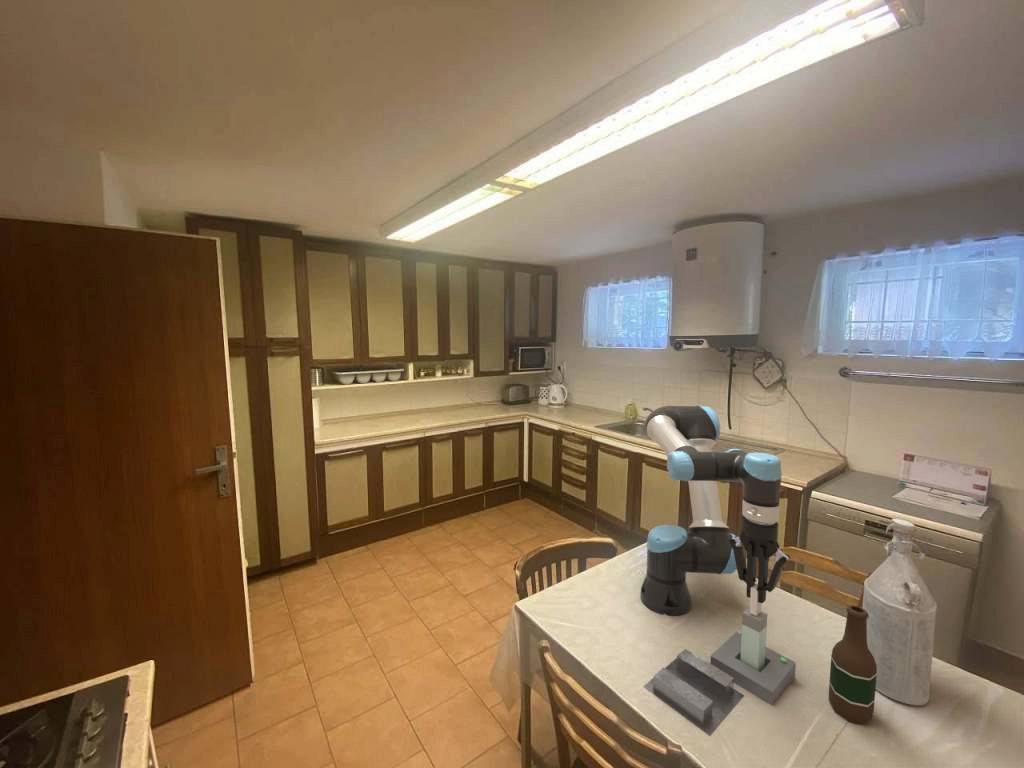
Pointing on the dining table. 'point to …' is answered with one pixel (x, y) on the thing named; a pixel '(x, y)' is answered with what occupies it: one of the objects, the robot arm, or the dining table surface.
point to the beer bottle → (853, 671)
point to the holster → (696, 690)
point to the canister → (900, 620)
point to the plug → (753, 639)
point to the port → (758, 683)
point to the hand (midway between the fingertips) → (755, 612)
